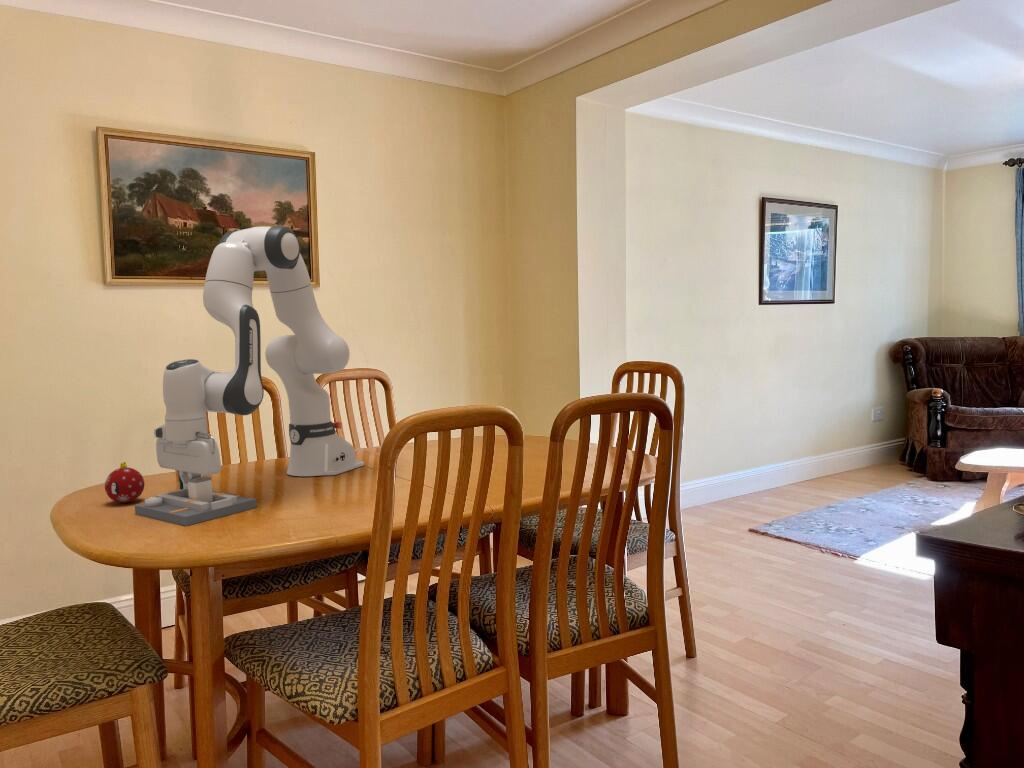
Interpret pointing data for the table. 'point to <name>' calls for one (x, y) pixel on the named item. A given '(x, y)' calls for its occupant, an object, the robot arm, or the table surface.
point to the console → (192, 507)
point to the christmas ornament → (124, 484)
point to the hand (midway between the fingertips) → (190, 490)
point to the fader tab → (200, 488)
